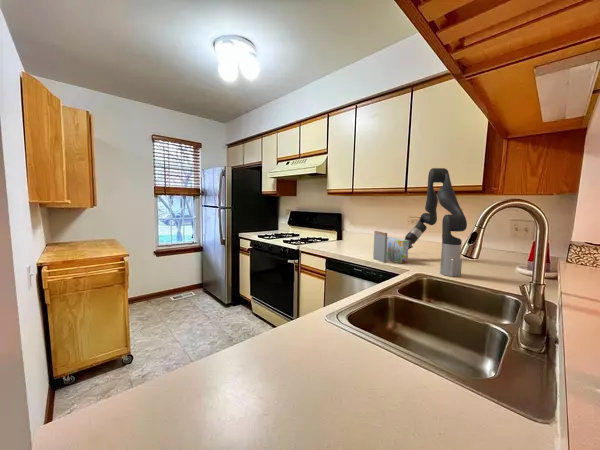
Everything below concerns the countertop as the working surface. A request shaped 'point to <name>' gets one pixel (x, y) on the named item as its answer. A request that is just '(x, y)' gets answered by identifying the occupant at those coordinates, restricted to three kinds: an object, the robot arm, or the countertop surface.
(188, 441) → the countertop surface
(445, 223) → the robot arm
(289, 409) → the countertop surface
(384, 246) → the board
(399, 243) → the snack box
